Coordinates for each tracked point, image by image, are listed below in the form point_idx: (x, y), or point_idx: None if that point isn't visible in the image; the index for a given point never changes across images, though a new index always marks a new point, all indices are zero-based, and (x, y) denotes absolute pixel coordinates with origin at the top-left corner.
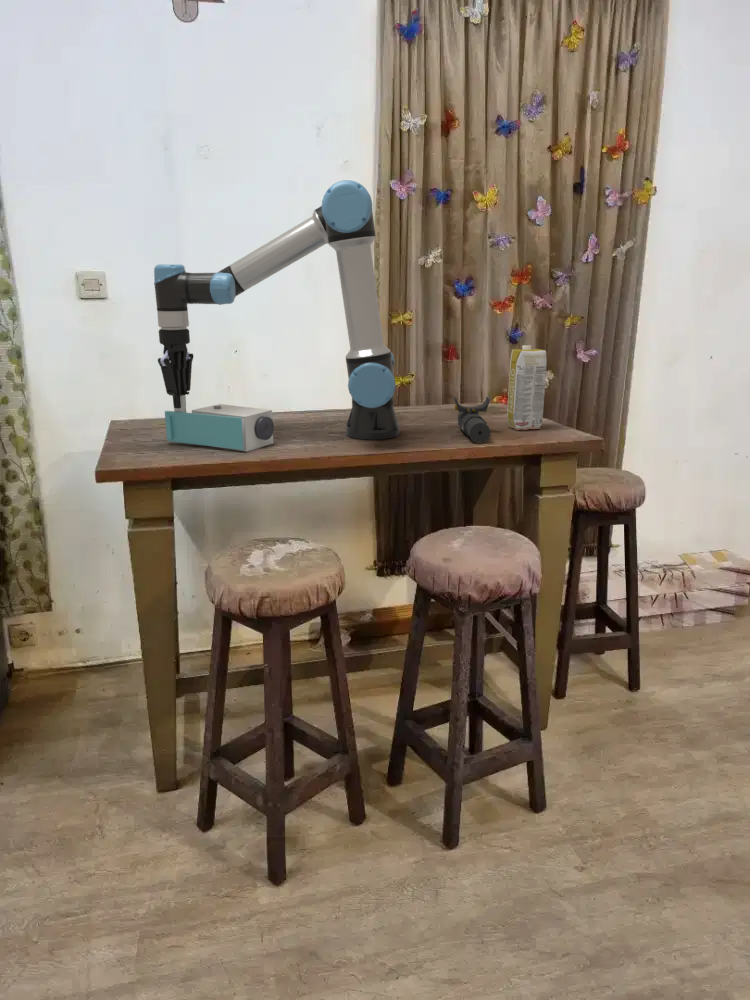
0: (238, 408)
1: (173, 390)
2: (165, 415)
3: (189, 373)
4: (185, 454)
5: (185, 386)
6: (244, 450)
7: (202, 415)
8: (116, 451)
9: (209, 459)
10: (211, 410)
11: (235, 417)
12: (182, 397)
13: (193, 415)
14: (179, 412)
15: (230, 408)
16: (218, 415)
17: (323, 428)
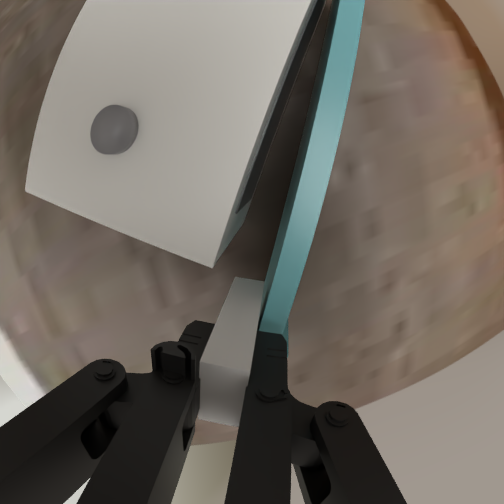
0: (110, 24)
1: (365, 437)
2: None
3: (5, 458)
4: (408, 188)
5: (147, 411)
6: (323, 8)
7: (339, 135)
8: (372, 392)
9: (446, 92)
10: (192, 128)
11: None
12: (247, 360)
13: (319, 208)
14: (281, 318)
15: (113, 57)
16: (333, 31)
17: (31, 2)
